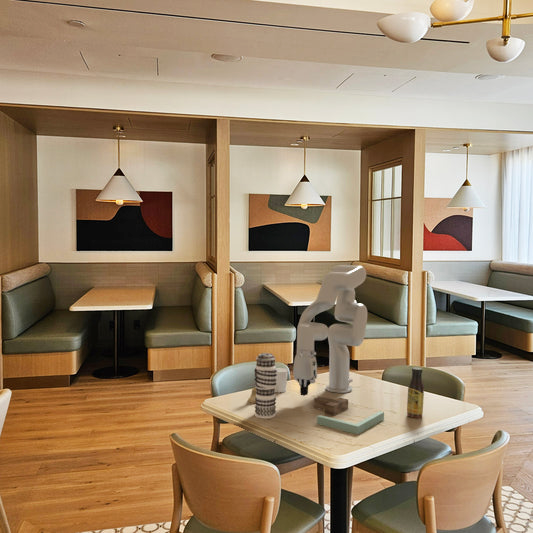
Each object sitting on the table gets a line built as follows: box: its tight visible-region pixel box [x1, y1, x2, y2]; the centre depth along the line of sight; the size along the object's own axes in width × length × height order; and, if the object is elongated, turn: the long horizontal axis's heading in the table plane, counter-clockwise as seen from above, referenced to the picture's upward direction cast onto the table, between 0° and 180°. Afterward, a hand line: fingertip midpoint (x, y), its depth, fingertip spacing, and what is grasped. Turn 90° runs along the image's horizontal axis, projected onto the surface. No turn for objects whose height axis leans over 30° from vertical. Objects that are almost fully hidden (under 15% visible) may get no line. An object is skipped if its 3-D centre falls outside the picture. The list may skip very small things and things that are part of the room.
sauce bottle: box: [406, 366, 425, 419], centre depth 214 cm, size 6×6×20 cm
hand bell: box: [247, 370, 257, 404], centre depth 233 cm, size 8×8×16 cm
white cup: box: [275, 367, 288, 393], centre depth 250 cm, size 8×8×10 cm
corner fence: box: [316, 410, 385, 435], centre depth 207 cm, size 22×18×3 cm
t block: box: [313, 396, 349, 417], centre depth 222 cm, size 12×12×4 cm
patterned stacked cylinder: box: [254, 352, 277, 419], centre depth 214 cm, size 9×9×25 cm
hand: (304, 394), depth 229 cm, fingers closed
